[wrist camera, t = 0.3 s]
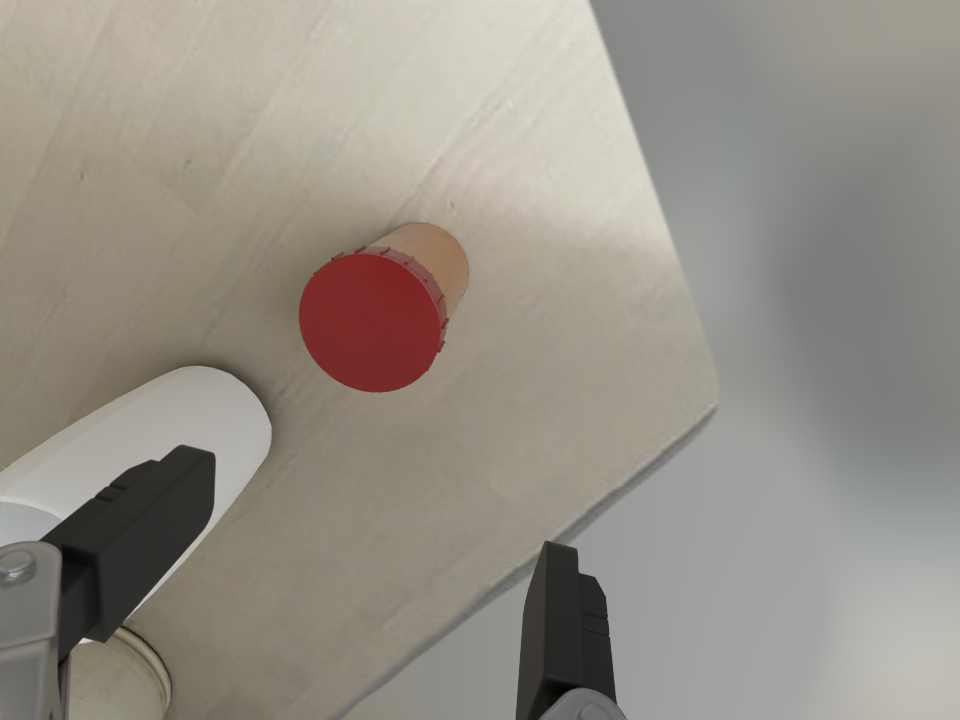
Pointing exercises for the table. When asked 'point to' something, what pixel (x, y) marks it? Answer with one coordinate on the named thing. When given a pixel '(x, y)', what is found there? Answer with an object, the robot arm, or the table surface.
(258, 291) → the table surface
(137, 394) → the cup
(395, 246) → the jam jar
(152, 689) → the jug
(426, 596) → the table surface
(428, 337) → the jar lid
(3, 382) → the table surface
